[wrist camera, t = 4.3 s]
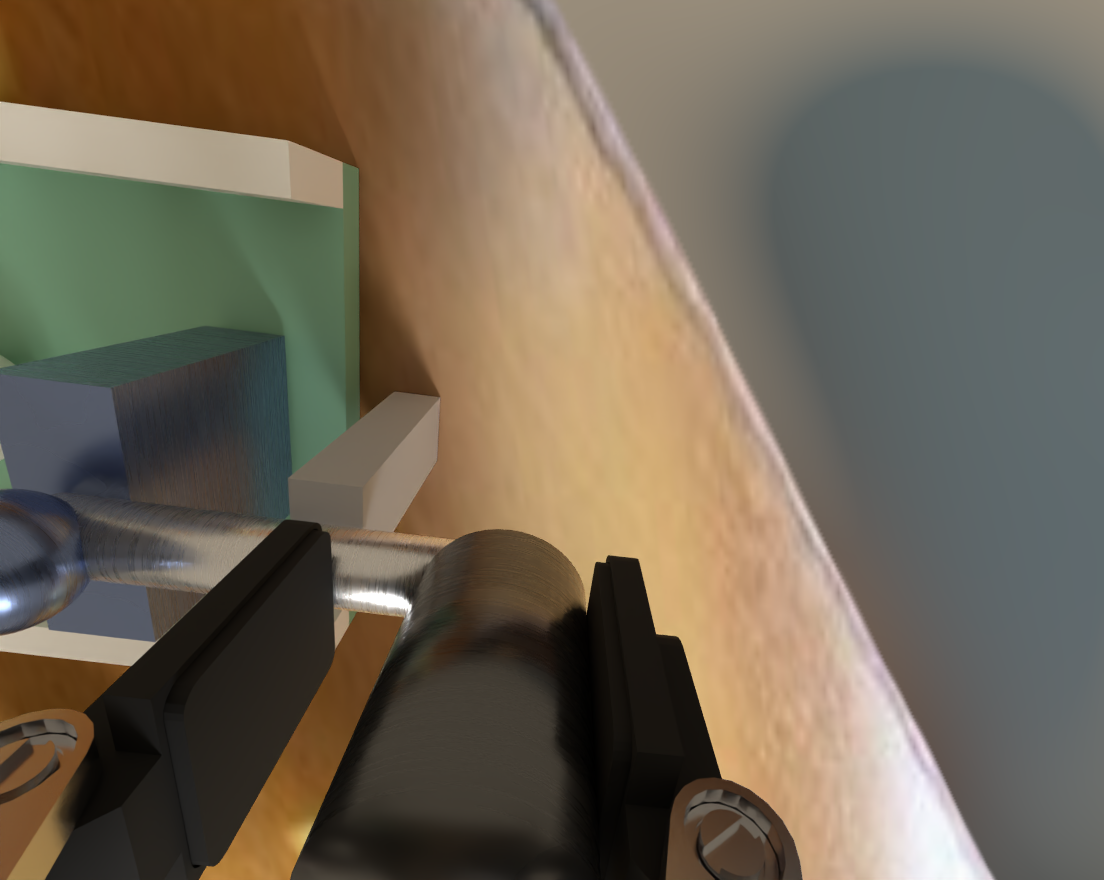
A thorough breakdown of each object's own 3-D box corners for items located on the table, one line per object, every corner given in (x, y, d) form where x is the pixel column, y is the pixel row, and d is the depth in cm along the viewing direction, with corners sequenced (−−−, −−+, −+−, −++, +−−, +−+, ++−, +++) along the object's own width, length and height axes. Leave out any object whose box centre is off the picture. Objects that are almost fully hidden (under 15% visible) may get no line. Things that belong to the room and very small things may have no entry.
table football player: (590, 374, 16) (657, 712, 4) (564, 543, 18) (563, 1080, 6) (201, 325, 16) (-845, 538, 4) (221, 501, 18) (-437, 977, 6)
